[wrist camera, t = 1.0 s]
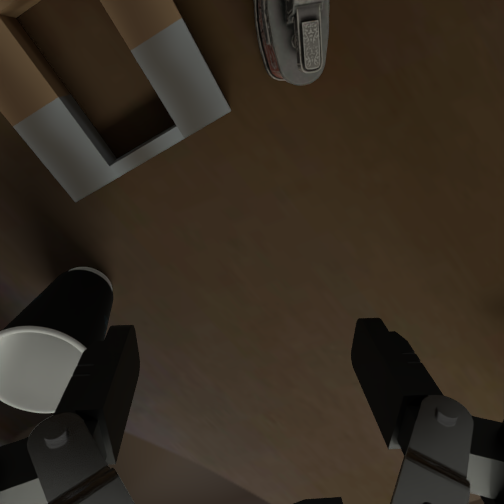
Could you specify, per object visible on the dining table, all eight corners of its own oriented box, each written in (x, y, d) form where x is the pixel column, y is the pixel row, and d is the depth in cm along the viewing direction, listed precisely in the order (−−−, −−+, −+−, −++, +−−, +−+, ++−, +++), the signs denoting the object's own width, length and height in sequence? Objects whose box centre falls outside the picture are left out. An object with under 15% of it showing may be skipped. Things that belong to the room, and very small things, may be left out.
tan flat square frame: (128, -85, 24) (118, -101, 21) (230, 107, 29) (231, 110, 27) (-41, 34, 26) (-65, 32, 23) (85, 192, 31) (75, 202, 29)
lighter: (246, -47, 25) (264, -107, 16) (296, -55, 25) (341, -119, 16) (261, 83, 29) (283, 92, 20) (305, 76, 29) (345, 82, 20)
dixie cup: (28, 258, 33) (-49, 338, 24) (116, 245, 34) (76, 320, 24) (59, 327, 37) (4, 421, 27) (138, 315, 37) (111, 405, 28)
